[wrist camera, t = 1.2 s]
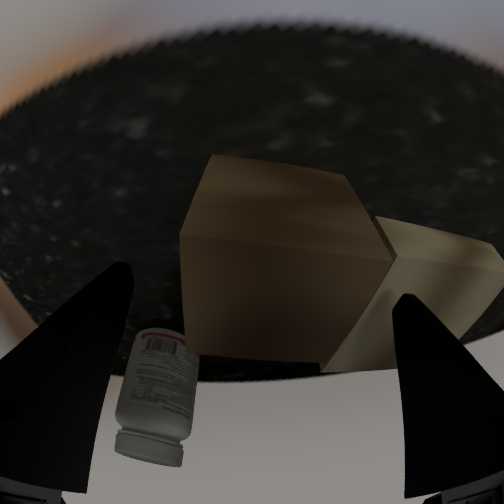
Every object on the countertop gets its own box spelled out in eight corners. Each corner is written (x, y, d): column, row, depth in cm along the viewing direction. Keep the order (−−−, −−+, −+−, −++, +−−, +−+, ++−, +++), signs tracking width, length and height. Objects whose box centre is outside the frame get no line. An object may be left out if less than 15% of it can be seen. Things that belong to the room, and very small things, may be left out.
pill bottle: (174, 366, 20) (158, 465, 14) (124, 338, 18) (95, 445, 11) (216, 351, 18) (204, 470, 12) (160, 316, 16) (129, 452, 9)
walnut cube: (343, 174, 10) (393, 261, 6) (310, 269, 13) (326, 362, 9) (212, 153, 10) (179, 233, 6) (205, 256, 13) (186, 352, 9)
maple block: (487, 239, 12) (512, 273, 10) (421, 331, 18) (432, 364, 15) (372, 211, 11) (397, 255, 9) (315, 331, 17) (320, 372, 15)
